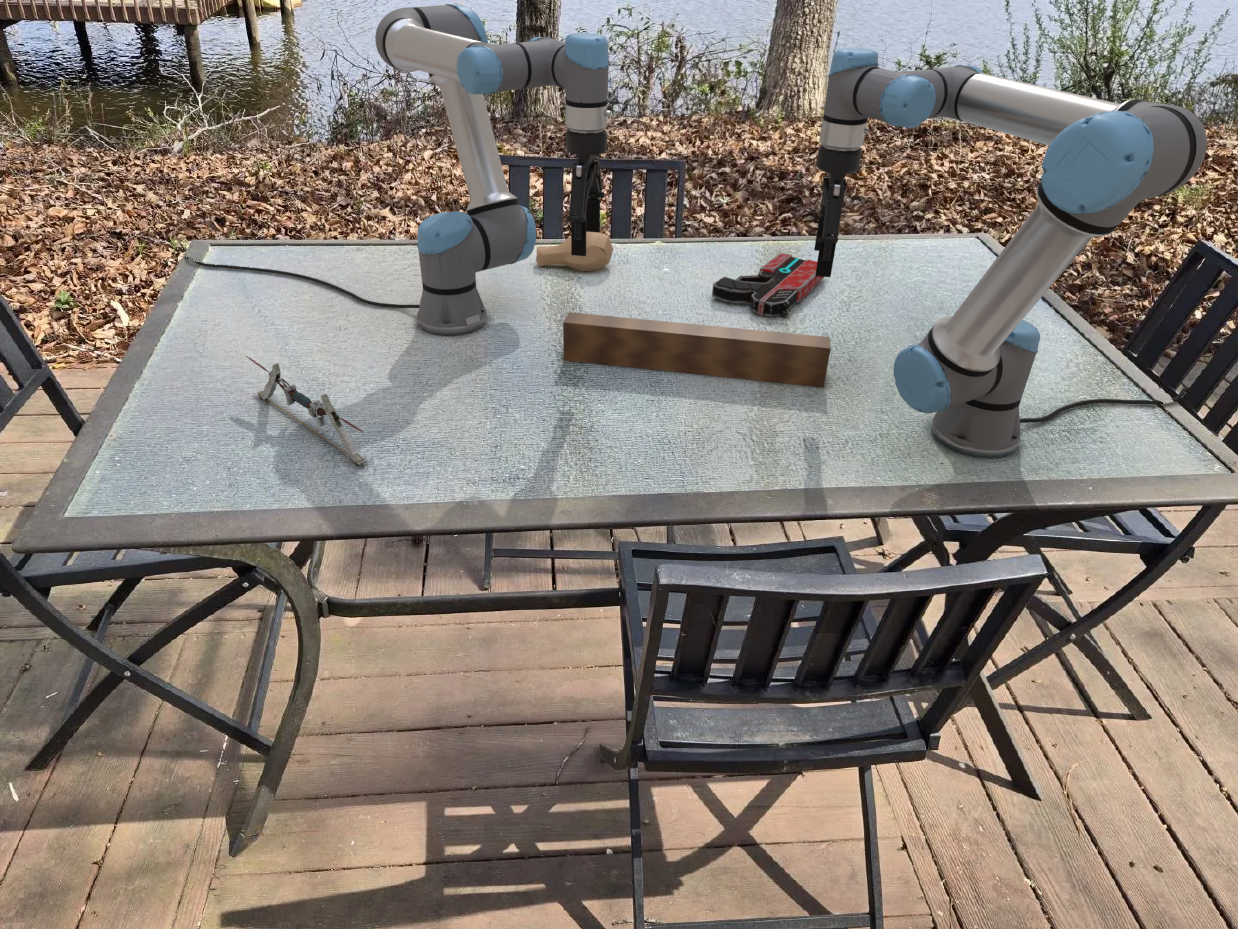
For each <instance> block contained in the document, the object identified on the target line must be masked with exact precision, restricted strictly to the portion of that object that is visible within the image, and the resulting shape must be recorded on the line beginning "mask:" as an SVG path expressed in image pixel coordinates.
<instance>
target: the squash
mask: <svg viewBox="0 0 1238 929" xmlns="http://www.w3.org/2000/svg"><path fill="white" fill-rule="evenodd" d="M613 252H614V247H613V244H612V242H611V240H610V236H609V235H607V234H605V233H602V232H599V233H598V232H586V256H576V255H571V235H570V236H569V237H568V238H566V239H565V241H564V242H562V243H560V244H558V245H550V246H537V247H536V258H535V261H536V264H537V265H538V266H539V267H545V266H551V265H552V266H553V265H562V266H567V267H570V268H572V269H575V270H578V271H580V272H595V271H597V270H599V269H601V268H603V267H605V266H608V265H609V264H610V262H611V261H612V260H611V259H612V256H613Z"/></svg>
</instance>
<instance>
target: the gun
mask: <svg viewBox="0 0 1238 929" xmlns="http://www.w3.org/2000/svg"><path fill="white" fill-rule="evenodd" d="M816 267H817V261H816V260H812V259H802V258H799V257H795V256H793V255H792V254H791V253H784V252H780V253H778V254H777V255H775V256H774V257H773V258H771V259H770V260H768V261H767V262H766V263H765V264H763V265H762V266H761V267H760V269H759V271H758V273H757V274H756V275H753V274H752V275H751V274H750V275H740V276H738V277H737V278H735V279H734V278H731V277H727V276H722V277H720V279H717V281H715V282H713V283H712V291H711V297H713V298H714V299H716V300H719V301H723V302H727V303H730V304H750V305H749V308H750V310H751V312H753V313H755V314H757V315H758V316H760V317H761V316H765V317H770V318H771V317H777V316H780V317H784V318H787V317H788V315H789V311H788V310H790V309H791V308H792V307H793V306H794V305H795V304H798V303H799V302H801V301H802V300H803V299H804V298H805V297H807V296H808V295H809V294H810V293H811V292H812V291H813V290H814V289H815V287H817V285H818V284H820V283H821V282H822V280H823V279H824V278H825V277H819V276H815V273H816Z"/></svg>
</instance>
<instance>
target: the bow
mask: <svg viewBox="0 0 1238 929" xmlns="http://www.w3.org/2000/svg"><path fill="white" fill-rule="evenodd" d="M245 357H246V358H247V359H248V360H250V361H251V362H253V364H255V365H256V366H257V367H259V368H261V369H262V370H263V371H265V372H267V373H268V381H267V382H266V384H265V386H264V387H263V388H264V389H263V390H261V391H258V392H257V397H259V398H260V399H262V400H267V401H269V402H270V403H271V404H272V405H275V406H276V407H277V408H278V409H280V410H282V411H283V412H285V413H286V414H287V415H289V416H290V417H292V418H293V419H295V420H296V421H298V422H299V423H301V424H302V425H304V426H305V427H306V428H308V429H310V430H311V431H312V432H314V433H315V434H317V435H318V436H319V437H321V438H323V439H324V440H325V441H327V442H329V443H330V444H332V445H333V446H334V447H335V448H337V449H339V450H340V451H342V452H343V453H344V454H346V455H347V456H348V457H350V459H351V460H352V461H353V462H354V464H356V465H359V466H362V464H365V463H367V461H366V460H365V458H364V457H362V456H361V455H360V453H359V452H358V451H357V449H356V447H355V445H354V443H353V441H352V440H351V438H350V436H349V434H348V432H347V430H346V429H345V427H344V425H343V423H346V424H347V425H348V426H350V427H352V428H353V429H355V430H357V431H358V432H360V433H362V434H364V433H365V431H364V430H362V429H361V428H360V427H358V426H356V425H355V424H353V423H351V422H350V421H348V420H346V419H344V418H342V417H340V415H339V414H338V412H337V411H336V408H335V407H334V405H333V403H332V402H331V399H330V398H329V395H328V394H327V393H324V394H321V395H320V399H321V401H320V399H317V400H315V401H312V400H311V398H309V397H308V396H307V395H305V394H304V393H302V392H300V391H298V390H297V386H296V384H291V385H290V383H289V382H288V381H287V380H286V379H284V378H282V376H281V375H282V372H281V367H280V363H278V362H277V363H274V364H272V365H271V366H272V367H271V368H272V369H271V371H269V370H268V369H266V368H265V367H264V366H263V365H262V364H260V363H259V362H257V361H256V360H254V359H252V358H251V357H249V356H248V355H245ZM277 385H279V387H280V388H281V389H282V391H283V393H284V395H285V402H286V405H287V406H289V407H290V406H292V405H295V404H296V403H298V404H299V405H300V406H301V407H303V408H305V409H307V410H308V414H309V415H310V416H311V417H312V418H313V419H314V418H315V419H316V422H317V426H318V427H320V428H321V427H323V426H327V423H326V418H325V417H324V416H327V417H328V419H329V421H330V423H331V425H332V428H334V431H335V433H336V434H337V437H338V438H339V440H340V442H341V443H342V444H343V448H344V449H343V448H341V447H339V446H338V445H336V444H335V443H334V442H332V441H330V439H328V438H326V437H325V436H323V435H322V434H320V433H319V432H318V431H316V430H314V429H313V428H312V427H310V426H309V425H307V424H306V423H304V422H303V421H301V420H300V419H298V418H297V417H295V416H294V415H293V414H291V413H290V412H288V411H287V410H285V409H284V408H283V407H281V406H279V405H278V404H276V402H273V401H272V400H270V398H271V397H272V396H273V395H274V393H275V391H276V390H277ZM342 422H343V423H342Z"/></svg>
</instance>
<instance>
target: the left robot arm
mask: <svg viewBox="0 0 1238 929" xmlns="http://www.w3.org/2000/svg"><path fill="white" fill-rule="evenodd" d="M374 37H375V38H374V39H375V46H376V50H377V53H378V55H379V56H380V58H381V60H383V62H384V63H385V64H386V65H388V66H389V67H391V68H393V69H395V70H398V71H401V72H405V73H414V72H417V71H421V72H424V73H427V74H428V76H429V80H430V82H431V83H433V84H434V85H436V86H437V87H438V88H439V90H440V94H441V97H442V101H443V104H444V109H445V112H446V115H447V119H448V123H449V126H450V130H451V134H452V137H453V141H454V145H455V148H456V152H457V156H458V160H459V163H460V167H461V170H462V174H463V178H464V181H465V185H466V188H467V192H468V196H469V200H470V201H469V204H468V205H467V208H466V210H465V211H466V212H464V211H457V210H455V211H454V210H453V211H443V212H438V213H436V214H435V213H434V214H432V215H429V216H427V217H426V218H424V220H422V221H421V222H420V224H419V226H418V227H417V230H416V231H417V232H416V233H417V242H416V246H417V247H416V248H417V250H418V258H419V259H418V260H419V267H420V275H421V276H420V278H421V284H422V292H421V297H420V302H419V304H397V303H385V302H377V301H372V300H368V299H365V298H362V297H360V296H358V295H357V294H355V293H353V292H351V291H349V290H346V289H344V288H343V287H340V286H338V285H335V284H332V283H330V282H327V281H324V280H322V279H318V278H315V277H312V276H307V275H304V274H299V273H295V272H289V271H284V270H277V269H270V268H263V267H262V268H260V267H254V266H253V267H252V268H250V267H251V266H241V267H240V265H231V264H217V265H215V263H207V262H202V261H199V262H196V261H195V262H194V263H195V264H196V265H199V266H200V267H201V266H202V267H207V268H215V269H216V268H217V269H218V268H219V269H230V270H241V271H249V272H250V271H251V272H259V273H260V272H261V273H269V274H276V275H282V276H288V277H294V278H299V279H303V280H307V281H311V282H314V283H317V284H320V285H323V286H326V287H328V288H331V289H333V290H336V291H339V293H340V292H341V293H343V294H345V295H347V296H349V297H352V298H353V299H355V300H357V301H358V302H361V303H363V304H367V305H370V306H375V307H381V308H393V309H418V310H417V315H416V318H417V325H418V326H419V328H420V329H421V330H423V331H424V332H427V333H430V334H433V335H440V336H459V335H465V334H469V333H473V332H476V331H477V330H480V329H481V328H483V327H484V326H485V325H486V323H487V320H488V316H487V310H486V306H485V304H484V302H483V299H482V298H481V295H480V293H479V291H478V288H477V278H476V277H477V276H476V273H479V272H483V271H487V270H490V269H495V268H500V267H504V266H507V265H513V264H516V263H518V262H521V261H524V260H526V259H528V258H529V257H530V256H531V255H532V253H533V251H534V250H535V246H536V241H537V226H536V221H535V219H534V216H533V214H532V213H531V212H530V210H529V209H528V208H527V207H525V206H522V205H520V204H519V199H518V197H517V196H515V195H514V194H512V193H511V192H510V191H509V189H508V183H507V180H506V177H505V173H504V169H503V165H502V162H501V157H500V153H499V151H498V146H497V142H496V139H495V135H494V131H493V127H492V123H491V120H490V116H489V111H488V108H487V104H486V100H485V97H484V95H485V96H486V95H492V94H495V93H501V92H509V91H516V90H525V89H526V90H527V89H534V88H543V87H557V88H560V89H563V90H565V127H566V128H567V129H566V130H565V149H566V151H567V152H568V154H569V153H570V154H573V155H575V156H576V162H574V164H572V166H571V185H570V186H571V187H570V197H569V209H568V216H566V222H569V223H570V225H571V226H570V236H571V255H576V256H586V232H598V233H601V199H605V192H603V191H604V190H603V189H604V188H603V179H602V170H601V169H602V168H601V156H600V155H602V154H604V153H606V152H607V150H608V131H607V130H606V128H607V127H608V117H610V116H611V115H612V114H611V111H610V110H607V109H608V100H609V66H610V59H609V41H608V39H607V38H606V36H605V35H603V34H599V33H591V32H575V33H570V34H567V35H566V37H565V40H564V41H563V40H558V39H555V38H553V37H549V36H545V37H543V36H536V37H533V38H530V39H529V40H528V41H523V42H513V43H501V44H500V43H499V44H493V43H489V41H488V35H487V31H486V28H485V26H484V23H483V21H482V20H481V18H480V16H479V15H478V13H477V12H476V11H474V10H473V9H472V8H471V7H469V6H467V5H464V4H451V3H446V4H441V5H430V6H429V5H428V6H413V7H412V6H411V7H409V6H408V7H401V8H396V9H394V10H392V11H390V12H389V13H387V14H386V15H384V17H383V18H382V19H381V20H380V21H379V23H378V25H377V28H376V30H375V36H374ZM185 258H186V255H185V256H184V259H185ZM189 258H190V257H188V259H189ZM205 263H206V264H205ZM229 265H230V266H229Z"/></svg>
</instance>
